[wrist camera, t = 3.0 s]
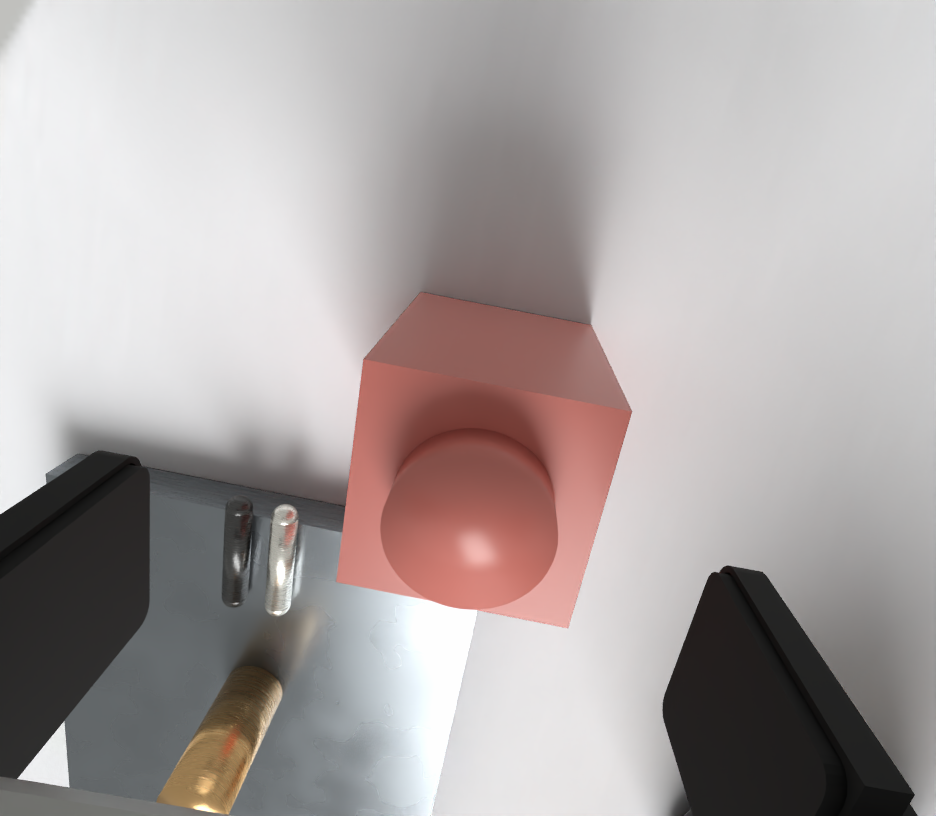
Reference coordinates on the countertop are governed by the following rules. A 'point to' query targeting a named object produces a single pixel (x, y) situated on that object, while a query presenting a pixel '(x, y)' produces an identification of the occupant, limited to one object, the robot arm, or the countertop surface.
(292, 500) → the grey plate with peg
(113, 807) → the robot arm
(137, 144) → the countertop surface
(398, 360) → the pink cube with dome
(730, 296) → the countertop surface
